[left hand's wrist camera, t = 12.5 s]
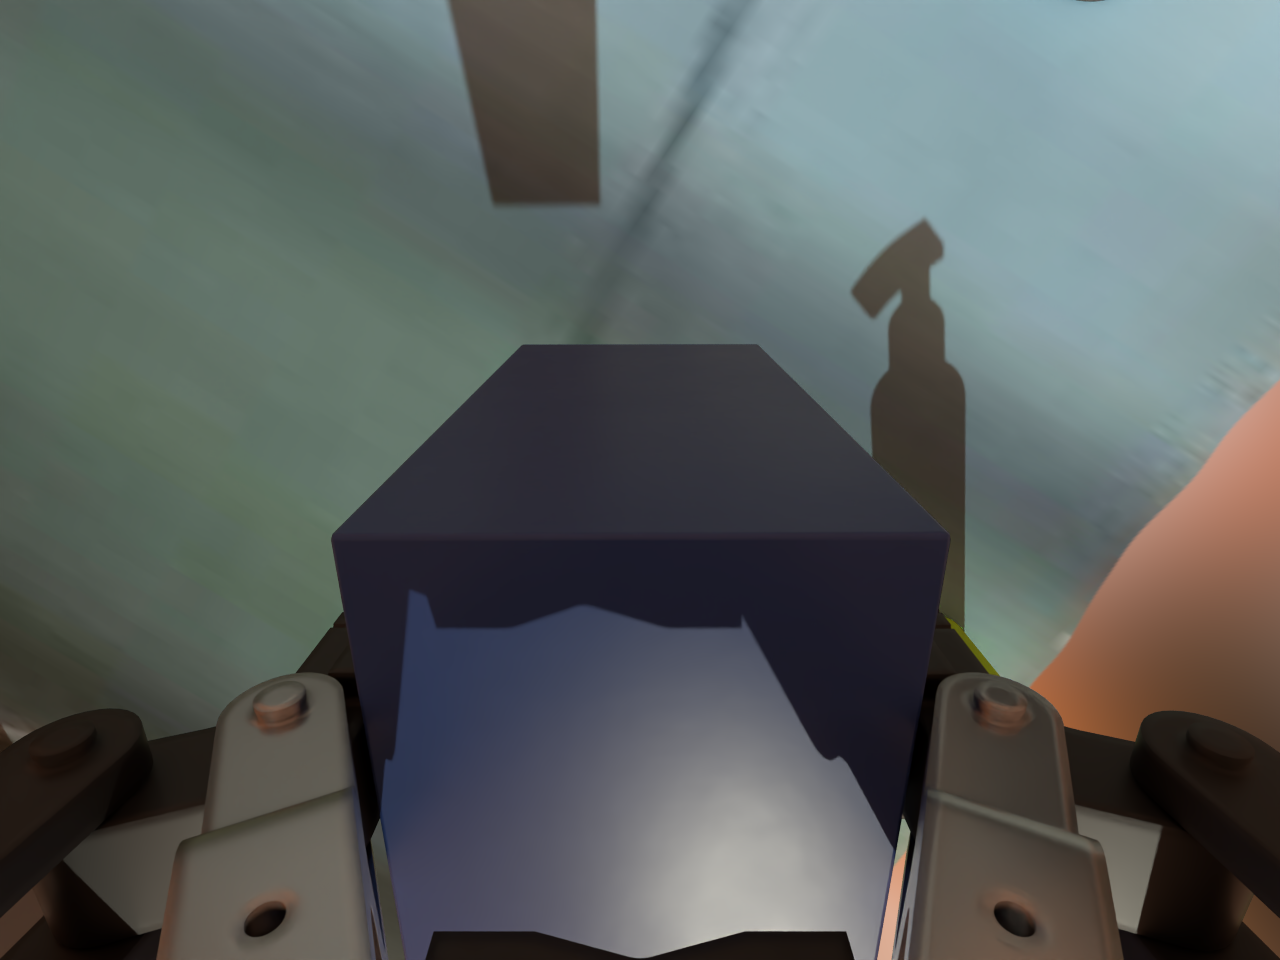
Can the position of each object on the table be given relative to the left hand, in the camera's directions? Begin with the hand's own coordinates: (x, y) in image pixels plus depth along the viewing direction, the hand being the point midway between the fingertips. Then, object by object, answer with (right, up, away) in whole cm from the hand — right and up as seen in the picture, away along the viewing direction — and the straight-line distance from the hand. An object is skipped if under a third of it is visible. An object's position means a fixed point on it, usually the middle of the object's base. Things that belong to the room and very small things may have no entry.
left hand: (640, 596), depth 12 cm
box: (0, -8, +10) cm, 13 cm away
